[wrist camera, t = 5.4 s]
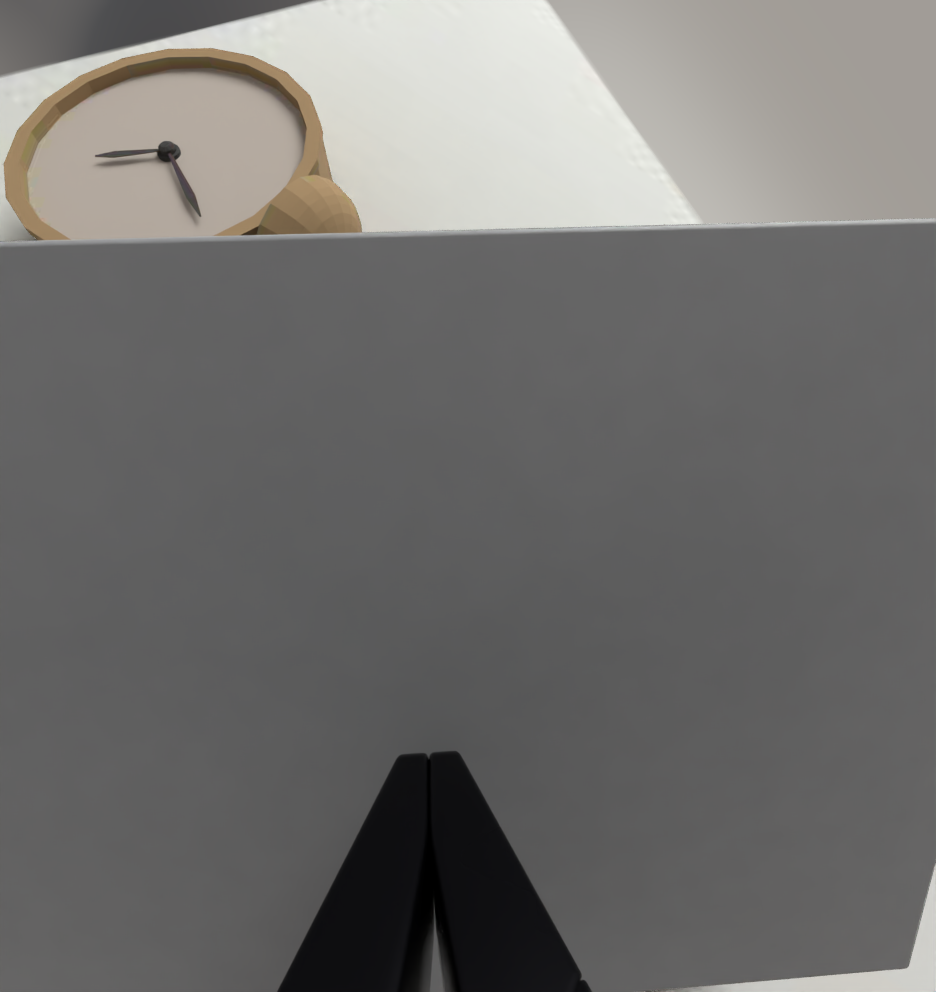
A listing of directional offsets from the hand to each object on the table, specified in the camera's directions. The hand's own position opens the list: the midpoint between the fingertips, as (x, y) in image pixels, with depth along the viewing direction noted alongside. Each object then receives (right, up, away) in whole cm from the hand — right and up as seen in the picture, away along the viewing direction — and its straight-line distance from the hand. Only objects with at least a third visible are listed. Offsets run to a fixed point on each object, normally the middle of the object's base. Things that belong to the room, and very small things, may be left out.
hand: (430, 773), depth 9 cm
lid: (0, +1, +1) cm, 2 cm away
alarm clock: (-10, +14, +17) cm, 24 cm away
